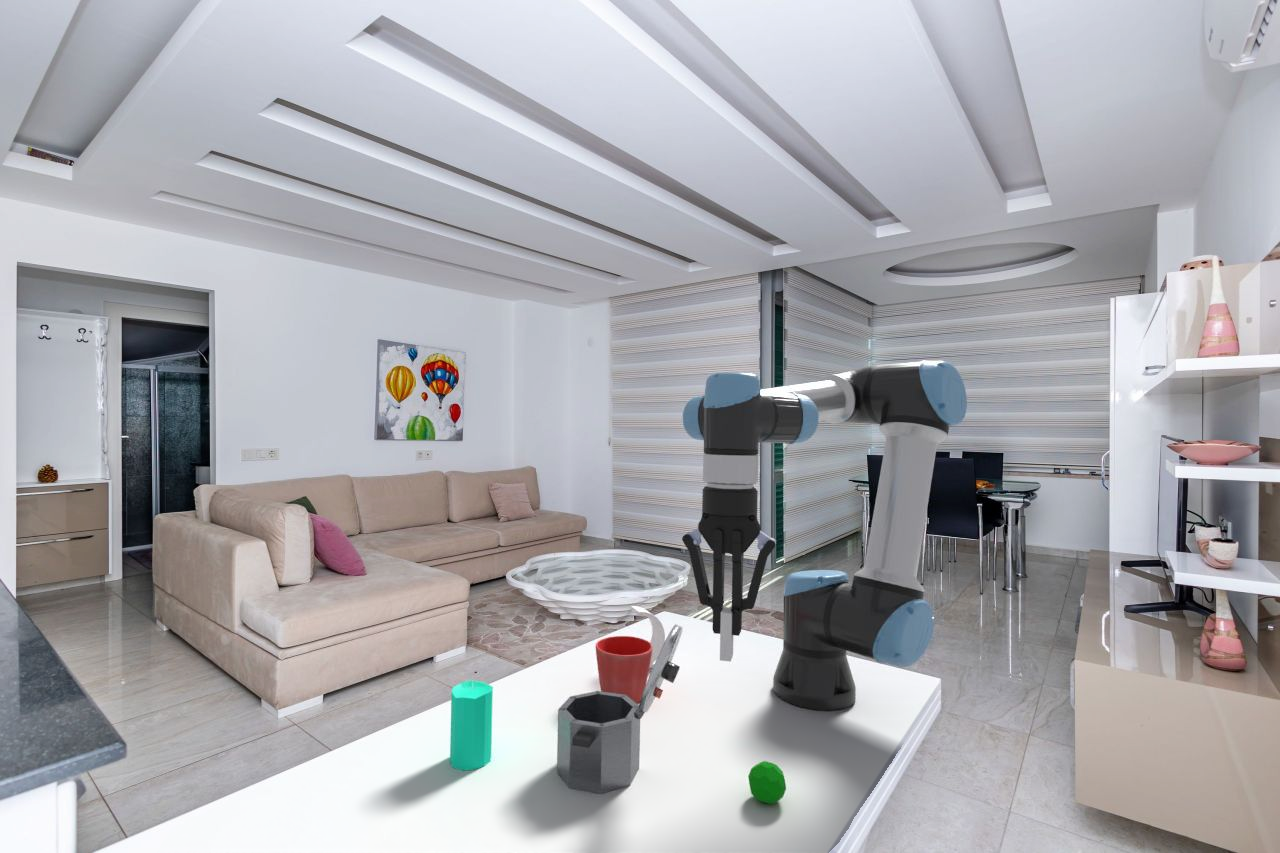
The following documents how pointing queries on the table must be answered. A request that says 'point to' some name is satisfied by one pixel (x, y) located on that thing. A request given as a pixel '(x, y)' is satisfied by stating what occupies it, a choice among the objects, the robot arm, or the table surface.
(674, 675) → the lid
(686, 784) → the table surface
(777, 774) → the polyhedron
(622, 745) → the pot
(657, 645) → the headphone stand
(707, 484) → the robot arm
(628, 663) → the flower pot
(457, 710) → the candle
